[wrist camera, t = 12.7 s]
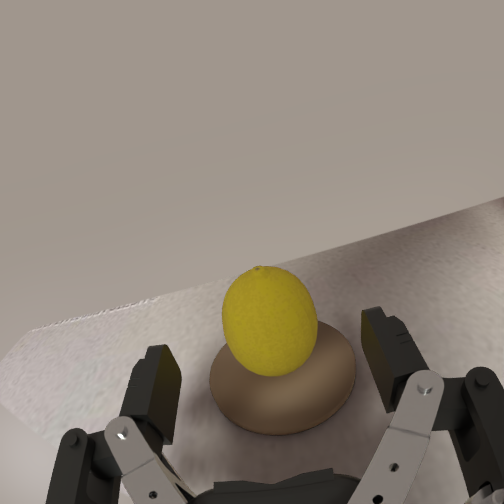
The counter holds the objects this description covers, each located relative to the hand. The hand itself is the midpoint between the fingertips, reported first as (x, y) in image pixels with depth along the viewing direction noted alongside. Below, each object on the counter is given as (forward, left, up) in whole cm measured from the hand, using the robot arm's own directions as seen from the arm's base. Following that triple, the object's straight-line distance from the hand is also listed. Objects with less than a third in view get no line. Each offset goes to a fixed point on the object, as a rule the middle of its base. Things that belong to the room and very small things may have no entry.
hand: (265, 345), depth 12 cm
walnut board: (+3, -4, -8) cm, 10 cm away
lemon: (+3, -4, -8) cm, 9 cm away
